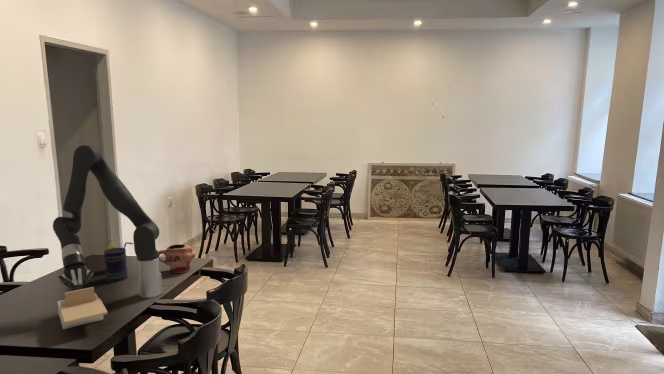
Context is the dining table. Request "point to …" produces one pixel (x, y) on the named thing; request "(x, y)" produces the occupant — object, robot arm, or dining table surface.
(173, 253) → the decorative planter
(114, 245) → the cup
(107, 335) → the dining table surface
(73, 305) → the lid
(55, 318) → the dining table surface
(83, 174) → the robot arm
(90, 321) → the base
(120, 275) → the storage jar
